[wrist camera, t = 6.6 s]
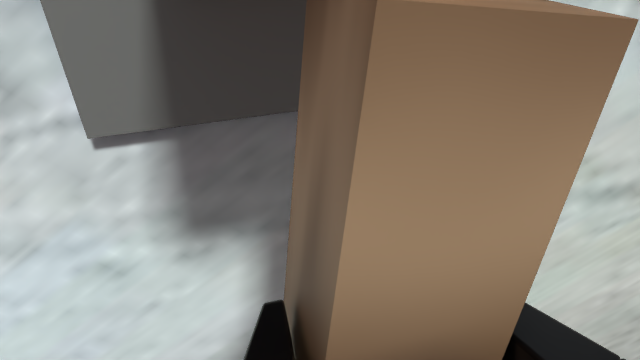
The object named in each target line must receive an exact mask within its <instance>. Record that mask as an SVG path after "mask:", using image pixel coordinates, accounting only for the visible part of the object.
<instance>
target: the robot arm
mask: <svg viewBox="0 0 640 360" xmlns="http://www.w3.org/2000/svg"><path fill="white" fill-rule="evenodd" d="M243 360H295V358H294V351H293V344H292V338H291V333H290V328H289V323H288V318H287V313H286V308H285V304H284V301H283V300H277V301H272V302H267V303H265V304H264V305H263V306H262V309H261V312H260V314H259V317H258V320H257V323H256V326H255V328H254V331H253V334H252V337H251V340H250V343H249V345H248V348H247V351H246V354H245V357H244V359H243ZM502 360H626V359H620V357H619V356H618V355H616V354H615V353H613V352H611V351H609V350H608V349H606V348H604V347H602V346H601V345H599V344H597V343H595V342H594V341H592V340H590V339H588V338H587V337H585V336H583V335H581V334H580V333H578V332H576V331H574V330H573V329H571V328H569V327H567V326H566V325H564V324H562V323H560V322H559V321H557V320H555V319H553V318H552V317H550V316H548V315H546V314H545V313H543V312H541V311H539V310H538V309H536V308H534V307H532V306H531V305H529V304H527V303H524V306H523V308H522V311H521V313H520V316H519V318H518V321H517V323H516V326H515V328H514V331H513V333H512V336H511V338H510V341H509V343H508V346H507V348H506V351H505V353H504V356H503V358H502Z"/></svg>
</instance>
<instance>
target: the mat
mask: <svg viewBox="0 0 640 360" xmlns="http://www.w3.org/2000/svg"><path fill="white" fill-rule="evenodd" d="M40 1H41V4H42V7H43V10H44V13H45V16H46V19H47V22H48V25H49V28H50V30H51V33H52V36H53V39H54V42H55V45H56V48H57V51H58V54H59V57H60V60H61V63H62V65H63V68H64V71H65V74H66V77H67V80H68V83H69V86H70V89H71V92H72V95H73V97H74V100H75V103H76V106H77V109H78V112H79V115H80V118H81V121H82V124H83V127H84V130H85V132H86V135H87V138H88V139H90V138H97V137H105V136H112V135H120V134H127V133H135V132H142V131H150V130H157V129H165V128H172V127H180V126H187V125H195V124H202V123H210V122H218V121H225V120H233V119H240V118H248V117H255V116H263V115H270V114H278V113H285V112H293V111H298V107H299V94H300V81H301V68H302V55H303V41H304V28H305V15H306V2H307V0H40Z"/></svg>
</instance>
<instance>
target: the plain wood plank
mask: <svg viewBox="0 0 640 360" xmlns="http://www.w3.org/2000/svg"><path fill="white" fill-rule="evenodd" d="M638 20H639V19H634V18H629V17H625V16H620V15H615V14H610V13H606V12H601V11H596V10H592V9H587V8H582V7H577V6H573V5H568V4H563V3H559V2H554V1H549V0H307V2H306V15H305V28H304V41H303V55H302V68H301V81H300V94H299V107H298V120H297V133H296V146H295V159H294V172H293V185H292V198H291V212H290V225H289V238H288V251H287V264H286V277H285V290H284V304H285V308H286V313H287V318H288V323H289V328H290V333H291V338H292V344H293V351H294V358H295V360H502V358H503V356H504V353H505V351H506V348H507V346H508V343H509V341H510V338H511V336H512V333H513V331H514V328H515V326H516V323H517V321H518V318H519V316H520V313H521V311H522V308H523V306H524V303H525V301H526V298H527V296H528V293H529V291H530V288H531V286H532V283H533V281H534V279H535V276H536V274H537V271H538V269H539V266H540V264H541V261H542V259H543V256H544V254H545V251H546V249H547V246H548V244H549V241H550V239H551V236H552V234H553V231H554V229H555V226H556V224H557V221H558V219H559V216H560V214H561V211H562V209H563V206H564V204H565V201H566V199H567V196H568V194H569V191H570V189H571V186H572V184H573V182H574V179H575V177H576V174H577V172H578V169H579V167H580V164H581V162H582V159H583V157H584V154H585V152H586V149H587V147H588V144H589V142H590V139H591V137H592V134H593V132H594V129H595V127H596V124H597V122H598V119H599V117H600V114H601V112H602V109H603V107H604V104H605V102H606V99H607V97H608V94H609V92H610V90H611V87H612V85H613V82H614V80H615V77H616V75H617V72H618V70H619V67H620V65H621V62H622V60H623V57H624V55H625V52H626V50H627V47H628V45H629V42H630V40H631V37H632V35H633V32H634V30H635V27H636V25H637V22H638Z"/></svg>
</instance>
